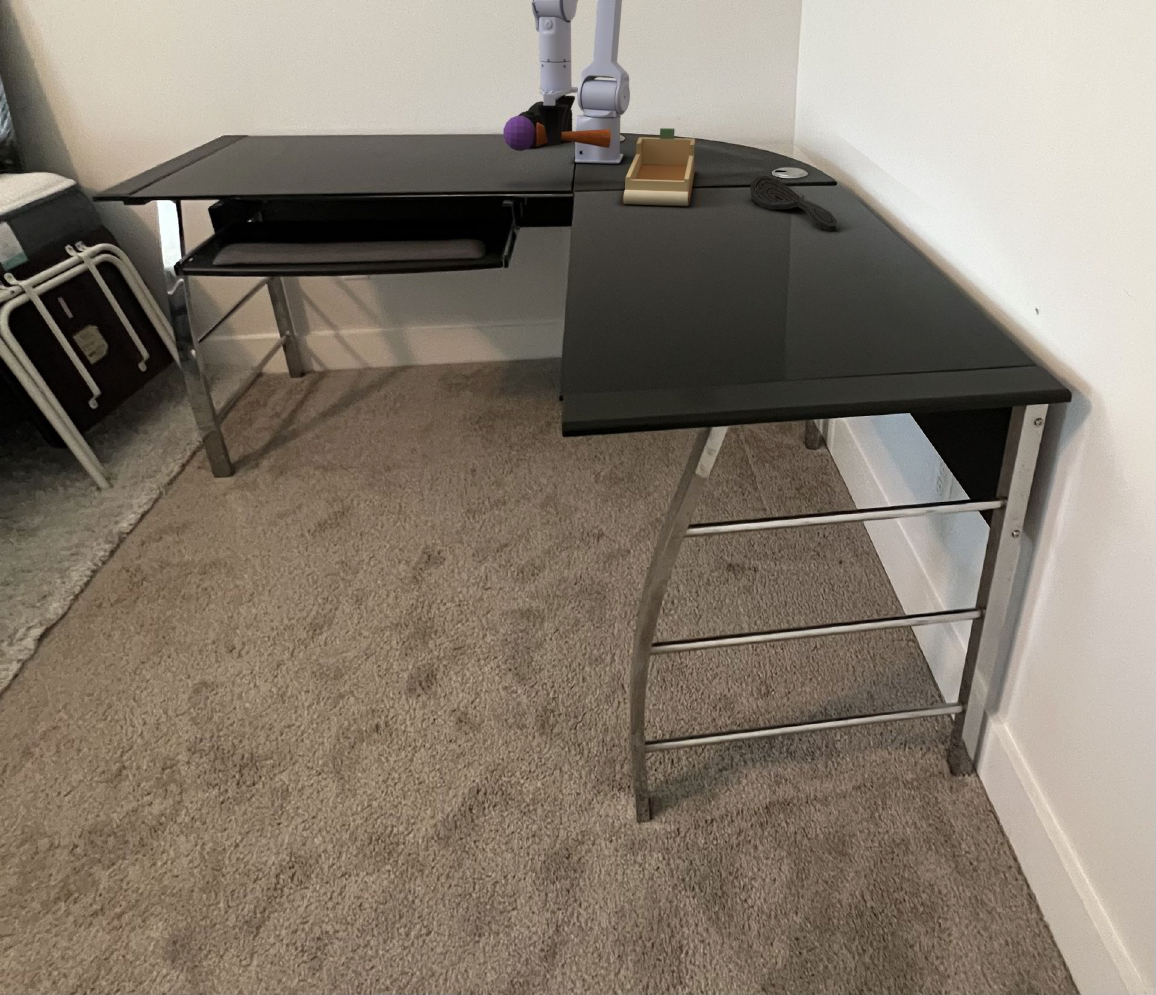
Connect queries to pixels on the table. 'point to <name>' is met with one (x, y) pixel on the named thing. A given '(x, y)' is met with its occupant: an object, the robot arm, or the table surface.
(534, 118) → the film camera
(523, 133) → the kendama
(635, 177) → the wooden tray
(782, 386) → the table surface
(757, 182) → the hairbrush
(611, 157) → the robot arm
